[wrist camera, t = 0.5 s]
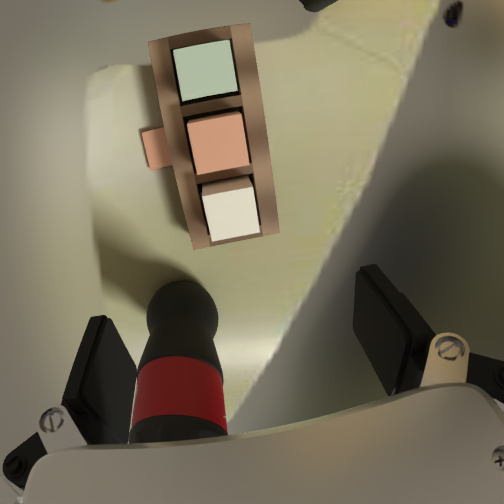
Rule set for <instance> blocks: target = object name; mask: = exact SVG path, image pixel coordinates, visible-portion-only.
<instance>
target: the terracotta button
mask: <svg viewBox="0 0 504 504" xmlns="http://www.w3.org/2000/svg"><path fill="white" fill-rule="evenodd" d="M187 127H188V132H189V137H190V142H191V147H192V152H193V156H194V161H195V166H196V171H197V175H200V174H205V173H210V172H215V171H220V170H225V169H230V168H236V167H241V166H247V165H249V158H248V152H247V146H246V139H245V133H244V127H243V120H242V114H241V113H240V112H238V111H232V112H226V113H221V114H215V115H210V116H205V117H200V118H195V119H190V120H189V121H188V123H187Z"/></svg>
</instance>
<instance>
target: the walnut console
mask: <svg viewBox="0 0 504 504" xmlns="http://www.w3.org/2000/svg"><path fill="white" fill-rule="evenodd" d="M224 40H229V41H230V47H231V53H232V59H233V65H234V71H235V77H236V83H237V89H238V95H232V96H226V97H220V98H215V99H209V100H204V101H199V102H194V103H189V104H185V105H182V100H181V95H180V89H179V84H178V78H177V73H176V67H175V62H174V56H173V53H174V52H173V50H176V49H180V48H185V47H190V46H195V45H200V44H206V43H212V42H218V41H224ZM148 45H149V50H150V57H151V62H152V68H153V73H154V79H155V84H156V89H157V94H158V99H159V104H160V109H161V114H162V119H163V124H164V128H165V133H166V138H167V142H168V147H169V151H170V156H171V160H172V165H173V169H174V173H175V178H176V182H177V186H178V190H179V194H180V198H181V203H182V207H183V211H184V215H185V219H186V223H187V226H188V230H189V234H190V238H191V242H192V246H193V249H194V250H195V249H200V248H205V247H210V246H215V245H220V244H225V243H230V242H235V241H240V240H246V239H251V238H256V237H261V236H266V235H271V234H277V233H280V230H279V221H278V213H277V205H276V197H275V189H274V181H273V174H272V166H271V159H270V151H269V144H268V137H267V130H266V123H265V116H264V109H263V102H262V96H261V89H260V82H259V76H258V70H257V63H256V57H255V51H254V45H253V39H252V33H251V27H250V23H248V24H238V25H231V26H224V27H217V28H211V29H205V30H199V31H194V32H189V33H184V34H179V35H175V36H170V37H166V38H162V39H158V40H154V41H150V42H148ZM238 106H240V108H241V114H242V120H243V126H244V133H245V139H246V145H247V152H248V158H249V165H247V166H241V167H236V168H230V169H225V170H220V171H215V172H210V173H205V174H200V175H197V171H196V166H195V165H194V160H193V155H192V150H191V145H190V140H189V136H188V131H187V126H186V120H185V116H190V115H194V114H199V113H204V112H209V111H215V110H220V109H226V108H232V107H238ZM245 174H251V177H252V183H253V190H254V196H255V203H256V209H257V216H258V223H259V229H260V232H259V233H254V234H249V235H244V236H238V237H233V238H228V239H223V240H218V241H213V242H212V239H211V234H210V230H209V226H208V224H207V220H206V215H205V211H204V206H203V202H202V197H201V193H200V188H199V183H204V182H209V181H214V180H219V179H224V178H229V177H234V176H240V175H245Z"/></svg>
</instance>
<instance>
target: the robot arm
mask: <svg viewBox="0 0 504 504" xmlns="http://www.w3.org/2000/svg"><path fill="white" fill-rule="evenodd" d="M353 329H354V332H355V335H356V336H357V338H358V340H359V342H360V344H361V346H362V347H363V349H364V351H365V353H366V355H367V357H368V359H369V360H370V362H371V364H372V366H373V368H374V370H375V372H376V374H377V376H378V378H379V380H380V381H381V383H382V385H383V387H384V389H385V391H386V393H387V394H388V396H390V397H387V398H384V399H381V400H378V401H374V402H371V403H368V404H365V405H361V406H358V407H355V408H351V409H348V410H344V411H341V412H337V413H334V414H330V415H326V416H322V417H318V418H314V419H310V420H306V421H302V422H297V423H293V424H288V425H283V426H279V427H274V428H268V429H263V430H258V431H252V432H246V433H240V434H235V435H234V434H233V435H226V436H219V437H211V438H203V439H194V440H183V441H172V442H157V443H136V444H127V443H128V438H129V429H130V421H131V413H132V405H133V398H134V390H135V384H136V377H137V368H136V365H135V363H134V361H133V359H132V358H131V356H130V354H129V352H128V350H127V348H126V347H125V345H124V343H123V341H122V339H121V337H120V335H119V333H118V331H117V329H116V327H115V325H114V323H113V321H112V320H111V318H107V316H105V315H101V316H94V317H91V318H90V320H89V322H88V325H87V328H86V330H85V333H84V336H83V338H82V341H81V344H80V347H79V349H78V352H77V355H76V358H75V361H74V363H73V366H72V369H71V372H70V376H69V379H68V382H67V385H66V388H65V391H64V395H63V398H62V399H63V400H62V403H61V405H60V404H53V405H49V406H47V407H45V408H44V409H43V410H42V411H41V412H40V414H39V415H38V417H37V420H36V428H37V432H36V433H35V434H34V435H32V436H31V437H30V438H28V439H27V440H26V441H25V442H23V443H22V444H21V445H20V446H18V447H17V448H16V449H14V450H13V451H12V452H10V453H9V454H8V455H7V456H6V458H5V460H4V463H3V473H4V475H3V477H2V476H1V475H0V504H504V361H501V360H497V359H492V358H489V357H485V356H481V355H478V354H474V353H470V352H469V346H468V344H467V342H466V341H465V340H464V339H463V338H462V337H460V336H459V335H456V334H453V333H442V334H439V335H437V336H436V334H435V333H434V332H433V331H432V329H431V328H430V326H429V325H428V324H427V323H426V321H425V320H424V319H423V318H422V316H421V315H420V314H419V312H418V311H417V310H416V309H415V308H414V306H413V305H412V304H411V302H410V301H409V300H408V299H407V298H406V296H405V295H404V294H403V293H401V292H399V291H398V290H397V289H396V287H395V286H394V285H393V284H392V283H391V281H390V280H389V279H388V278H387V277H386V276H385V274H384V273H383V272H382V271H381V270H380V268H379V267H378V266H377V265H376V264H370V265H366V266H362V267H360V271H357V272H356V281H355V299H354V316H353Z"/></svg>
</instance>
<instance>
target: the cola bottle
mask: <svg viewBox="0 0 504 504" xmlns="http://www.w3.org/2000/svg"><path fill="white" fill-rule="evenodd" d="M147 326H148V330H149V333H150V336H149V339H148V341H147V344H146V347H145V349H144V352H143V354H142V357H141V360H140V363H139V366H138V370H137V386H136V394H135V402H134V410H133V419H132V428H131V430H130V433H129V444H136V443H157V442H172V441H183V440H194V439H203V438H211V437H219V436H226V435H228V432H227V423H226V414H225V404H224V394H223V373H222V368H221V365H220V362H219V358H218V355H217V351H216V348H215V345H214V341H213V338H214V336H215V334H216V331H217V327H218V312H217V308H216V305H215V303H214V301H213V299H212V297H211V296H210V294H209V293H208V292H207V291H206V290H205V289H204V288H202V287H201V286H199V285H197V284H195V283H192V282H187V281H176V282H172V283H169V284H167V285H165V286H163V287H162V288H160V289H159V290H158V291H157V292H156V294H155V295H154V296H153V298H152V300H151V301H150V304H149V306H148V310H147Z"/></svg>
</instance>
